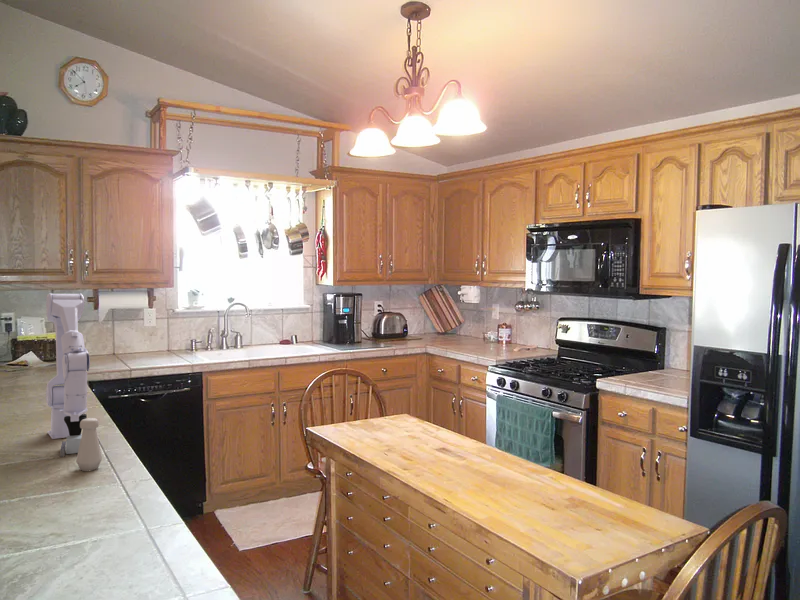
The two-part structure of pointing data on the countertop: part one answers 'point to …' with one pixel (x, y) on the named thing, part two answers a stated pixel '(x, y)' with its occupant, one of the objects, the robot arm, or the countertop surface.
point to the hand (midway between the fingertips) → (75, 441)
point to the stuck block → (73, 444)
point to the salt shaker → (89, 446)
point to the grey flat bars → (63, 449)
